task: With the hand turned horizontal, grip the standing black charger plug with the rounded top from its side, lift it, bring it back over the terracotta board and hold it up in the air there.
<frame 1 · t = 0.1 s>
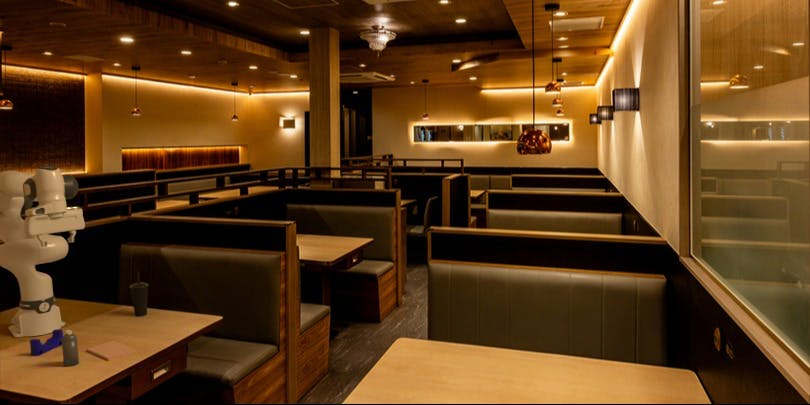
hand: (58, 244, 215), 39 cm above the table, tool pointing down, fingers open, 8 cm apart
charger plug: (71, 364, 198), on the table
board: (111, 351, 209), on the table
drinking cup: (141, 315, 253), on the table
blue u-shaped bracket: (46, 350, 212), on the table
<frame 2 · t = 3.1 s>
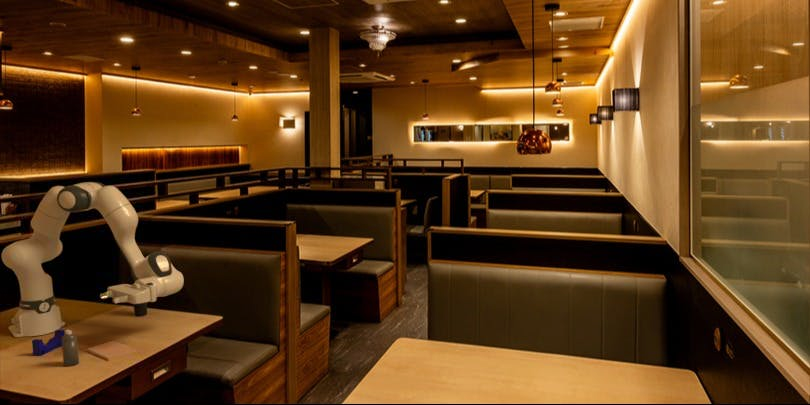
hand: (107, 298, 207), 20 cm above the table, tool horizontal, fingers open, 8 cm apart
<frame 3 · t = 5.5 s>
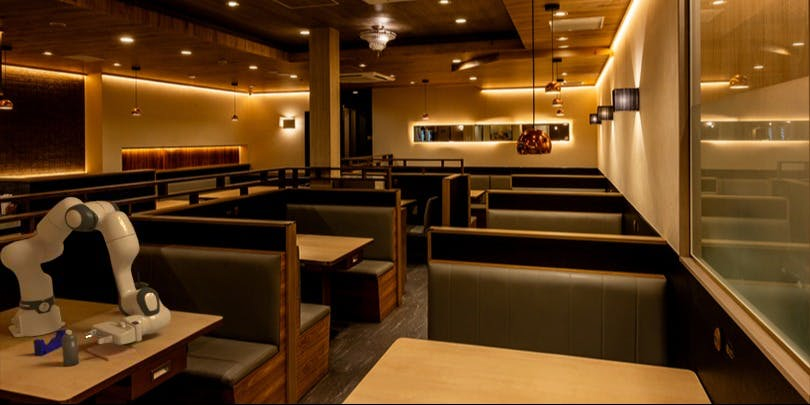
hand: (91, 339, 203), 7 cm above the table, tool horizontal, fingers open, 8 cm apart
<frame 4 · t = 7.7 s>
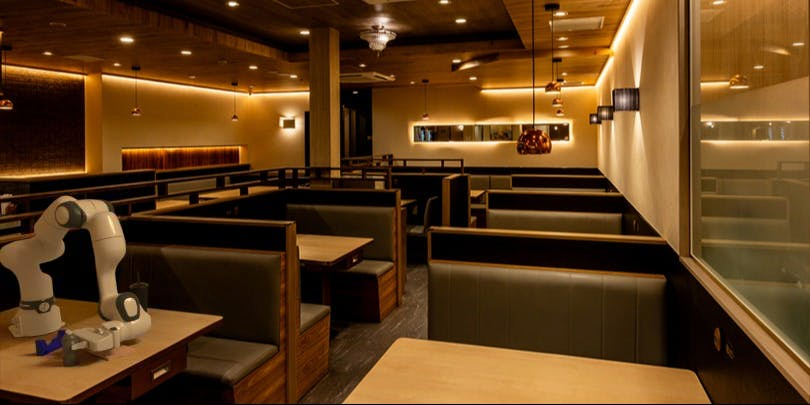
hand: (67, 345, 197), 7 cm above the table, tool horizontal, fingers closed on charger plug, 5 cm apart
charger plug: (71, 364, 198), on the table, touching gripper
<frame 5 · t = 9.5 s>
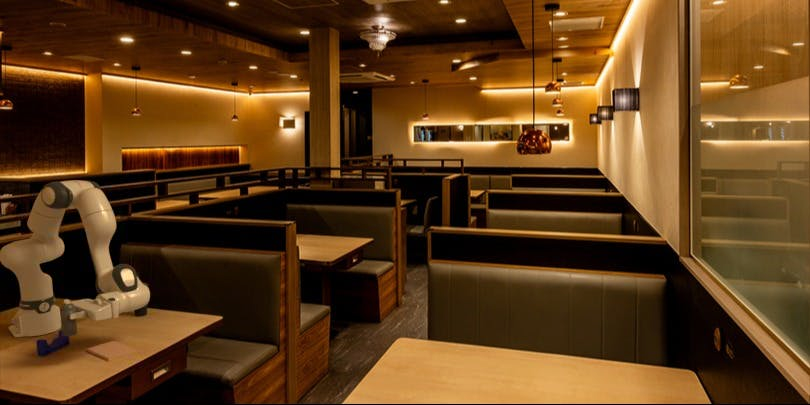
hand: (65, 315, 196), 18 cm above the table, tool horizontal, fingers closed on charger plug, 5 cm apart
charger plug: (69, 334, 197), point 11 cm above the table, touching gripper
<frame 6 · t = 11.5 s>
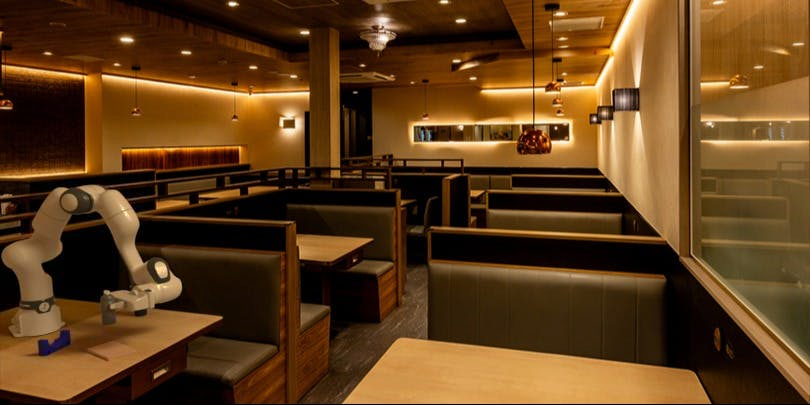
hand: (105, 305, 207), 18 cm above the table, tool horizontal, fingers closed on charger plug, 5 cm apart
charger plug: (109, 323, 208), point 11 cm above the table, touching gripper
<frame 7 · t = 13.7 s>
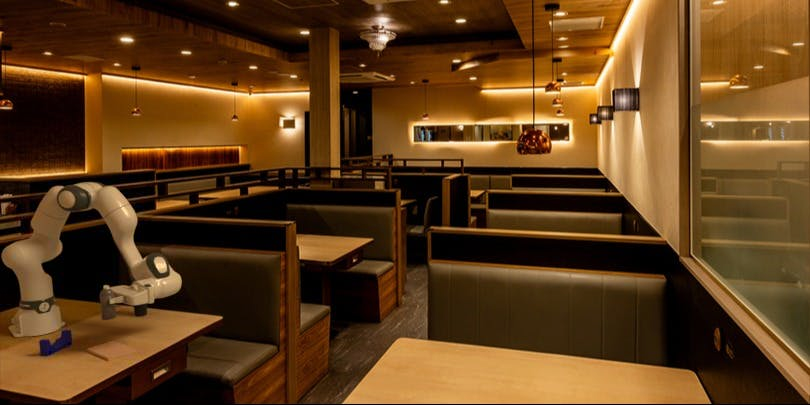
hand: (104, 300, 206), 20 cm above the table, tool horizontal, fingers closed on charger plug, 5 cm apart
charger plug: (108, 318, 208), point 13 cm above the table, touching gripper
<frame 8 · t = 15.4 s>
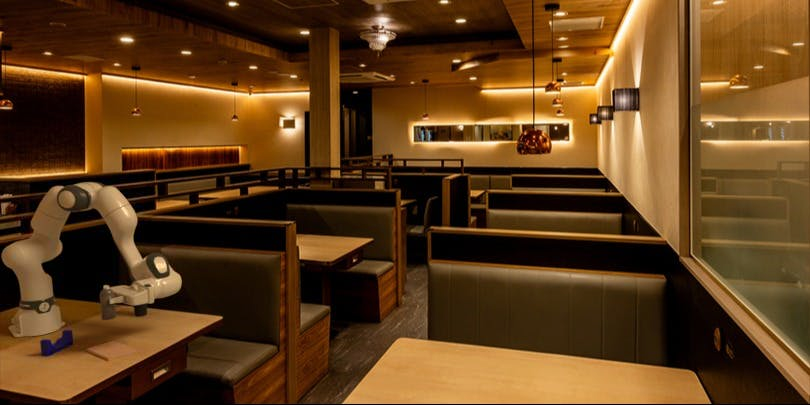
hand: (104, 300, 206), 20 cm above the table, tool horizontal, fingers closed on charger plug, 5 cm apart
charger plug: (108, 318, 208), point 13 cm above the table, touching gripper
at the end: the gripper is holding charger plug; charger plug point 12.9 cm above the table; charger plug inside the target area (0.0 cm from its centre), point 12.9 cm above the table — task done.
